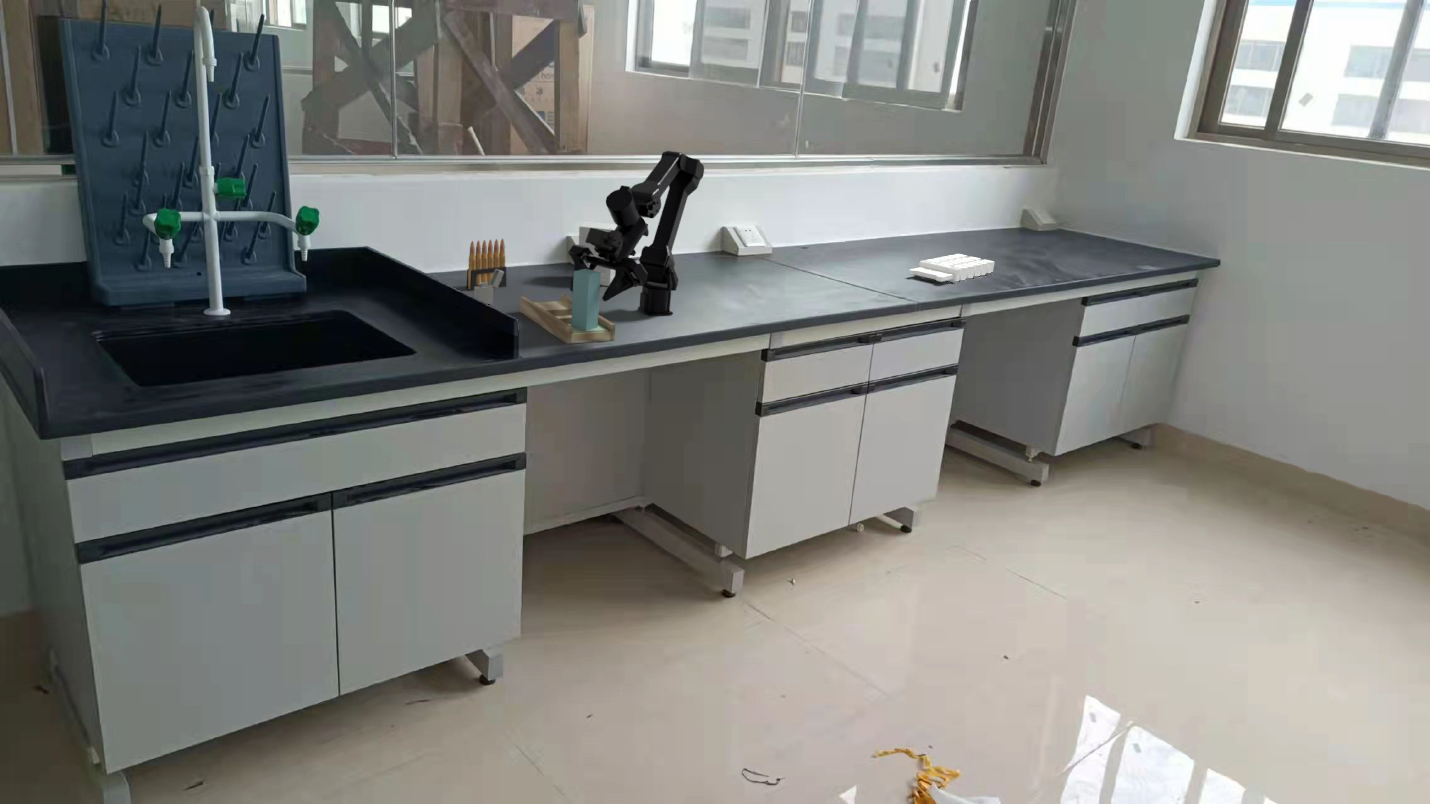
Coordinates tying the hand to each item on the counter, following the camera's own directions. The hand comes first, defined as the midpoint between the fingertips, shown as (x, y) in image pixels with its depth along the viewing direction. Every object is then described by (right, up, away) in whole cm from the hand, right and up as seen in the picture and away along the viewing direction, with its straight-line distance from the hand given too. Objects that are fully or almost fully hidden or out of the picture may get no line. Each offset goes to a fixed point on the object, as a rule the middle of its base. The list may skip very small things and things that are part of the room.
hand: (587, 295), depth 211 cm
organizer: (+102, +17, +107) cm, 149 cm away
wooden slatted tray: (-7, -5, +11) cm, 14 cm away
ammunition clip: (-29, +5, +36) cm, 47 cm away
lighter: (-26, 0, +21) cm, 33 cm away
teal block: (-1, -7, +2) cm, 7 cm away
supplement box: (-4, +9, +54) cm, 55 cm away
